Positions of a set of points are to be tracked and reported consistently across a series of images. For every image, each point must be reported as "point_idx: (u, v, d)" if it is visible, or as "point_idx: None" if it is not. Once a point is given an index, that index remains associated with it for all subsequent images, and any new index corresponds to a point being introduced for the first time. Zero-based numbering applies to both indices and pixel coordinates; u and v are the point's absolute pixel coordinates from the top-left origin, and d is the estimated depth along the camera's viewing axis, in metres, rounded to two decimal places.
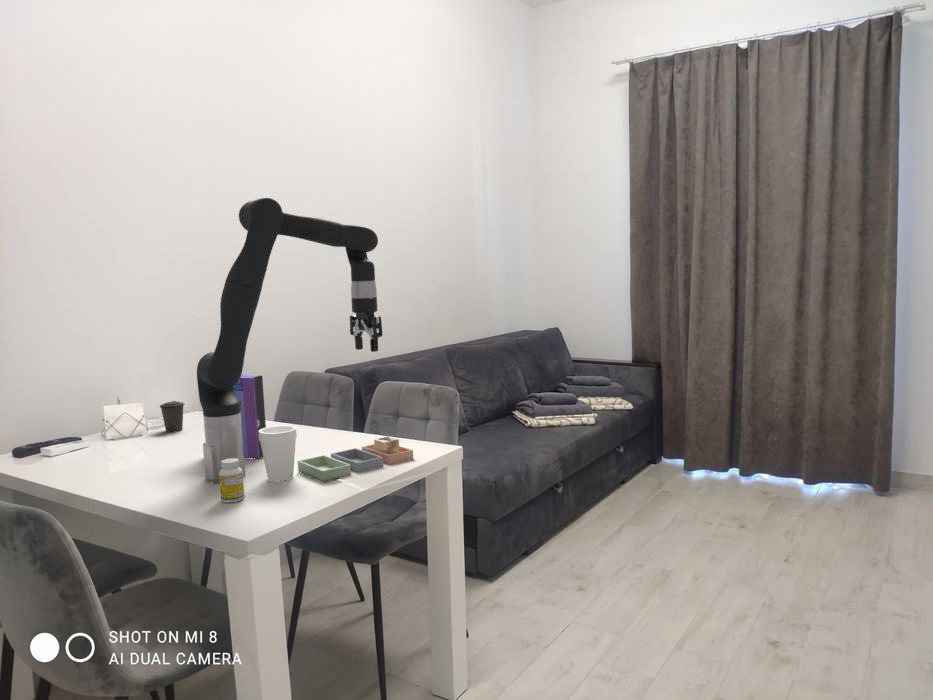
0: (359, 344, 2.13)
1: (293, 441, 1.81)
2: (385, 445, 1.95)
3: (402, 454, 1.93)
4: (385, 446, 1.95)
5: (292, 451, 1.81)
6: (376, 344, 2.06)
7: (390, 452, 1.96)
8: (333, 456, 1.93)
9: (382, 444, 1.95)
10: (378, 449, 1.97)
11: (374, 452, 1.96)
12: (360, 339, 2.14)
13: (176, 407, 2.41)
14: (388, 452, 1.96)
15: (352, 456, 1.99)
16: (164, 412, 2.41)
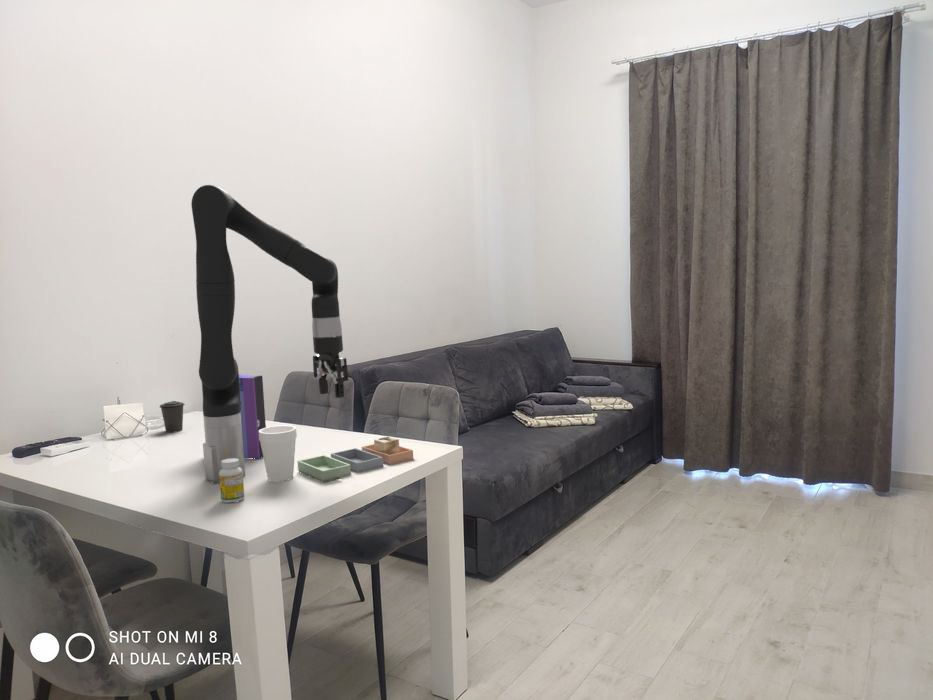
0: (324, 388, 1.88)
1: (293, 441, 1.81)
2: (385, 445, 1.95)
3: (402, 454, 1.93)
4: (385, 446, 1.95)
5: (292, 451, 1.81)
6: (341, 389, 1.81)
7: (390, 452, 1.96)
8: (333, 456, 1.93)
9: (382, 444, 1.95)
10: (378, 449, 1.97)
11: (374, 452, 1.96)
12: (325, 382, 1.88)
13: (176, 407, 2.41)
14: (388, 452, 1.96)
15: (352, 456, 1.99)
16: (164, 412, 2.41)
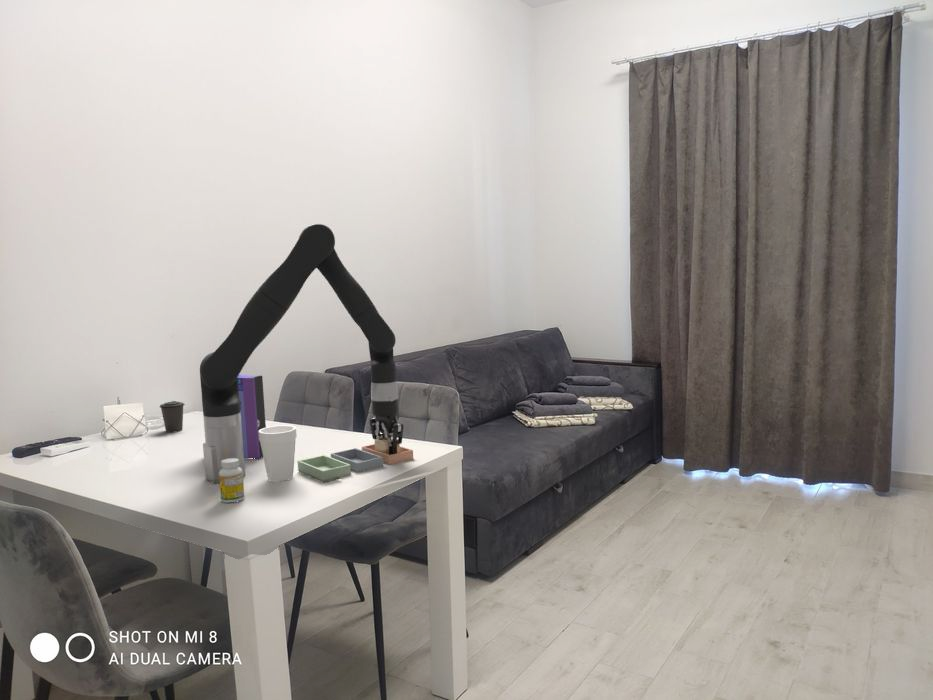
0: None
1: (293, 441, 1.81)
2: (385, 445, 1.95)
3: (402, 454, 1.93)
4: (385, 446, 1.95)
5: (292, 451, 1.81)
6: (395, 451, 1.95)
7: None
8: (333, 456, 1.93)
9: (382, 444, 1.95)
10: (378, 449, 1.97)
11: (374, 452, 1.96)
12: None
13: (176, 407, 2.41)
14: (388, 452, 1.95)
15: (352, 456, 1.99)
16: (164, 412, 2.41)
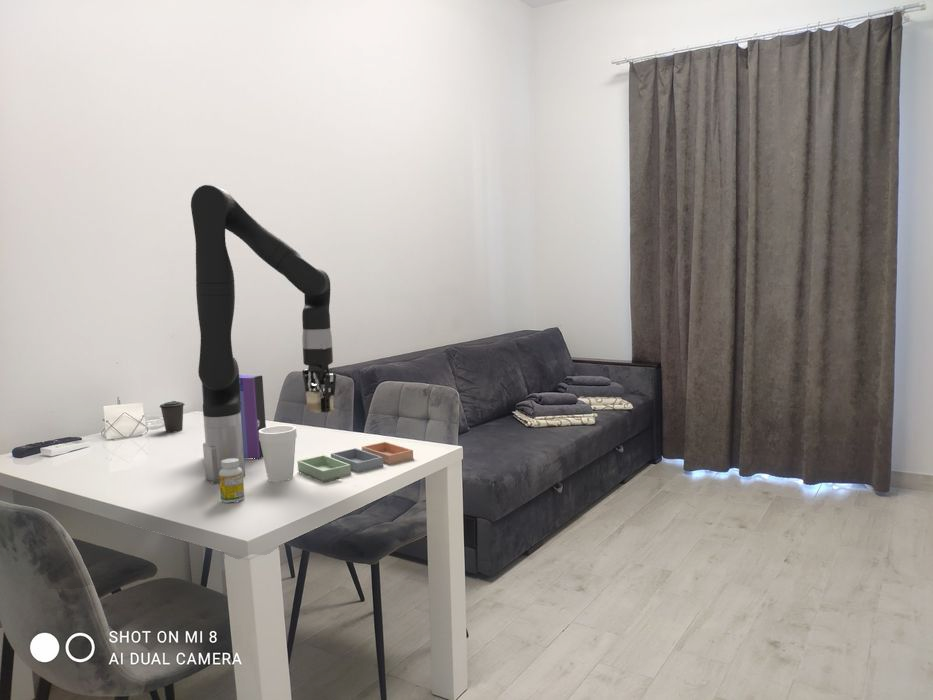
0: None
1: (293, 441, 1.81)
2: (317, 396, 1.80)
3: (402, 454, 1.93)
4: (317, 397, 1.80)
5: (292, 451, 1.81)
6: (327, 404, 1.81)
7: None
8: (333, 456, 1.93)
9: (313, 395, 1.81)
10: (310, 402, 1.82)
11: (374, 452, 1.96)
12: None
13: (176, 407, 2.41)
14: (320, 405, 1.81)
15: (352, 456, 1.99)
16: (164, 412, 2.41)
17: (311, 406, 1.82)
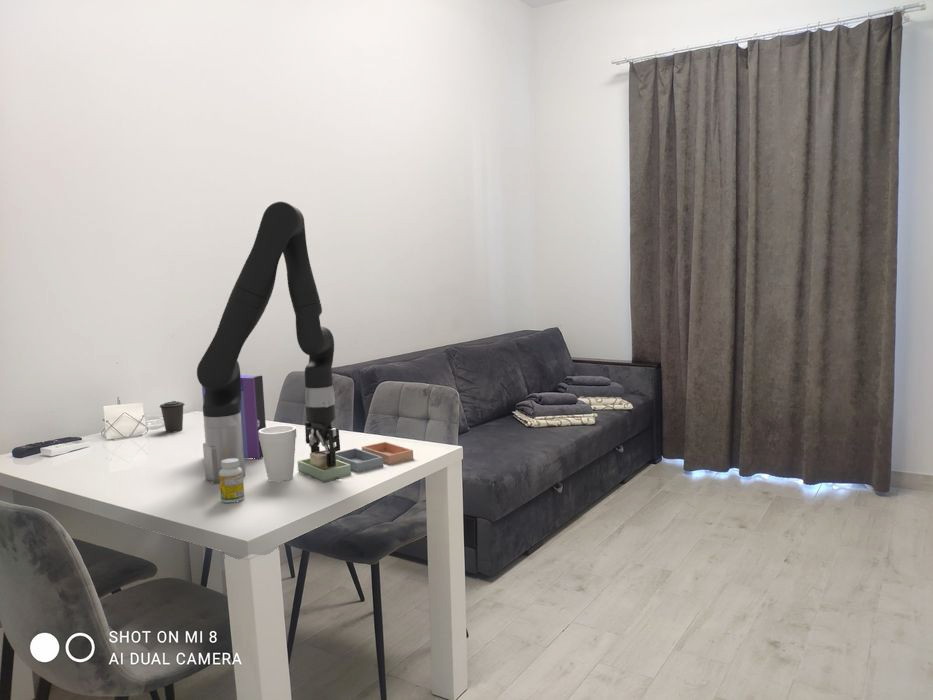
0: None
1: (293, 441, 1.81)
2: (320, 459, 1.82)
3: (402, 454, 1.93)
4: (320, 460, 1.82)
5: (292, 451, 1.81)
6: (333, 459, 1.81)
7: (326, 467, 1.83)
8: None
9: (317, 458, 1.82)
10: (314, 463, 1.84)
11: (374, 452, 1.96)
12: (317, 449, 1.88)
13: (176, 407, 2.41)
14: (324, 467, 1.83)
15: (352, 456, 1.99)
16: (164, 412, 2.41)
17: None
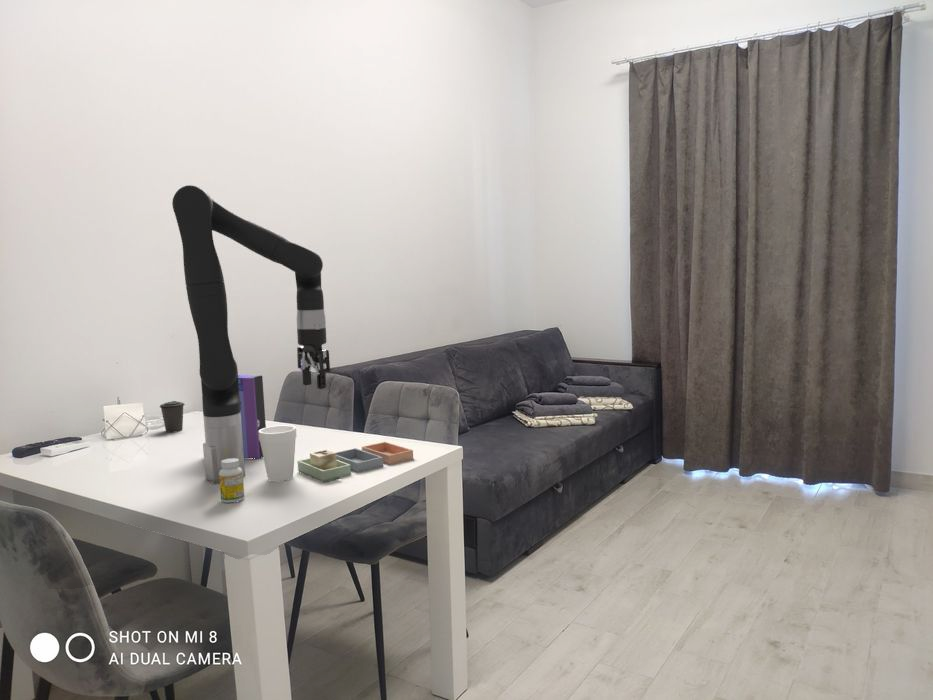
0: (307, 379, 1.92)
1: (293, 441, 1.81)
2: (320, 459, 1.82)
3: (402, 454, 1.93)
4: (320, 460, 1.82)
5: (292, 451, 1.81)
6: (323, 380, 1.85)
7: (326, 467, 1.83)
8: None
9: (317, 458, 1.82)
10: (314, 463, 1.84)
11: (374, 452, 1.96)
12: (308, 374, 1.92)
13: (176, 407, 2.41)
14: (324, 467, 1.83)
15: (352, 456, 1.99)
16: (164, 412, 2.41)
17: None
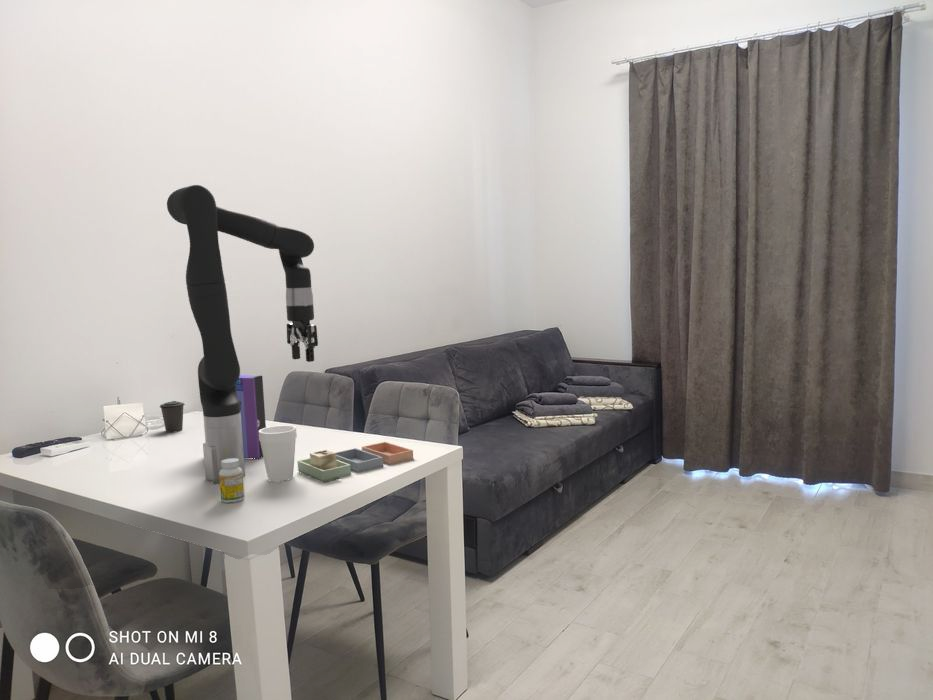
0: (296, 353, 2.04)
1: (293, 441, 1.81)
2: (320, 459, 1.82)
3: (402, 454, 1.93)
4: (320, 460, 1.82)
5: (292, 451, 1.81)
6: (312, 354, 1.97)
7: (326, 467, 1.83)
8: None
9: (317, 458, 1.82)
10: (314, 463, 1.84)
11: (374, 452, 1.96)
12: (297, 349, 2.05)
13: (176, 407, 2.41)
14: (324, 467, 1.83)
15: (352, 456, 1.99)
16: (164, 412, 2.41)
17: None
